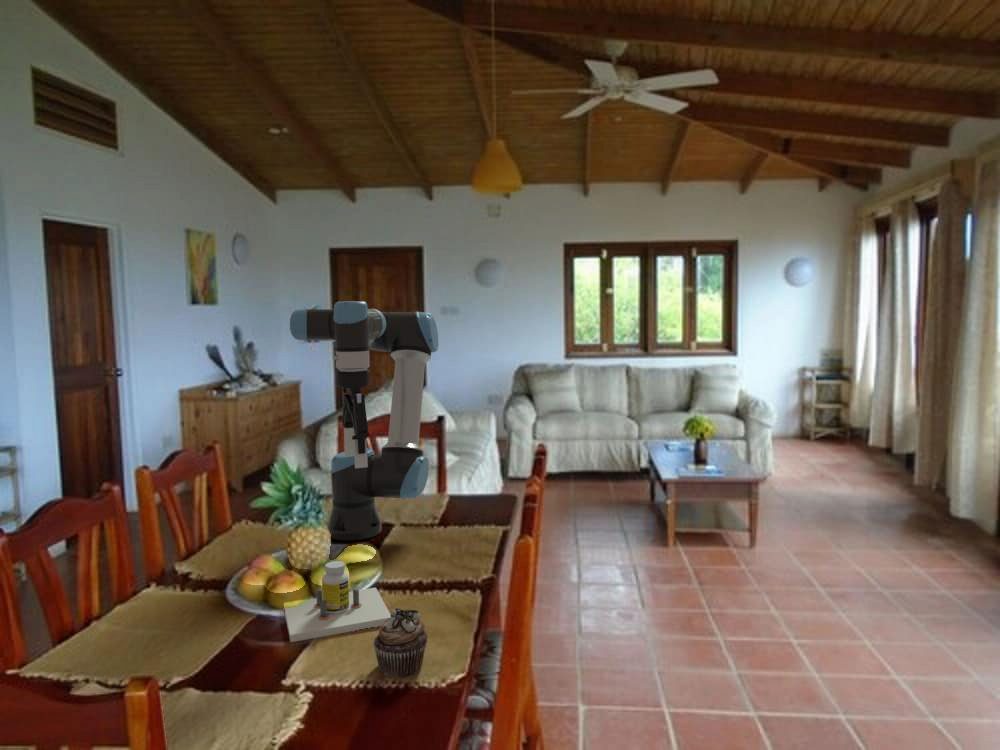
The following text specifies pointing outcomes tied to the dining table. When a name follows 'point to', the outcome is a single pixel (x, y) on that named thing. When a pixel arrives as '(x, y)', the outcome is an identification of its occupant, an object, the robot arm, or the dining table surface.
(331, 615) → the pin nest
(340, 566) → the supplement bottle
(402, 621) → the cupcake
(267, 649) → the dining table surface
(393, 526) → the dining table surface
